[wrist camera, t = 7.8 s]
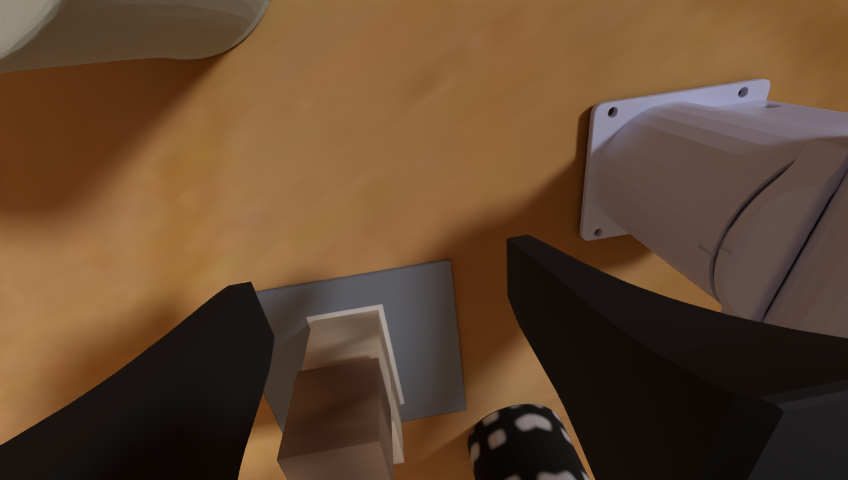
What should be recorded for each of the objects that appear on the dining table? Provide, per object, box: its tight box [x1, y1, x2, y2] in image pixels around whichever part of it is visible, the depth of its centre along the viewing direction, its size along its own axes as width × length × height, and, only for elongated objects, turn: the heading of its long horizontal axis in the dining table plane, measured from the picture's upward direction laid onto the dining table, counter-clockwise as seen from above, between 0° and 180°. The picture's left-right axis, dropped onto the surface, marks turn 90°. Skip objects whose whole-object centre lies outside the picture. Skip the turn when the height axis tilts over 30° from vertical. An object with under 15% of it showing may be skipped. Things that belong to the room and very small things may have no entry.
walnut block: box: [277, 358, 394, 480], centre depth 18 cm, size 4×4×5 cm
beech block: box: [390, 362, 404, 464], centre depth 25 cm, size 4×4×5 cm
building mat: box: [256, 259, 466, 432], centre depth 26 cm, size 14×14×1 cm
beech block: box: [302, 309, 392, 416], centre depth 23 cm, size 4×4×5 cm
